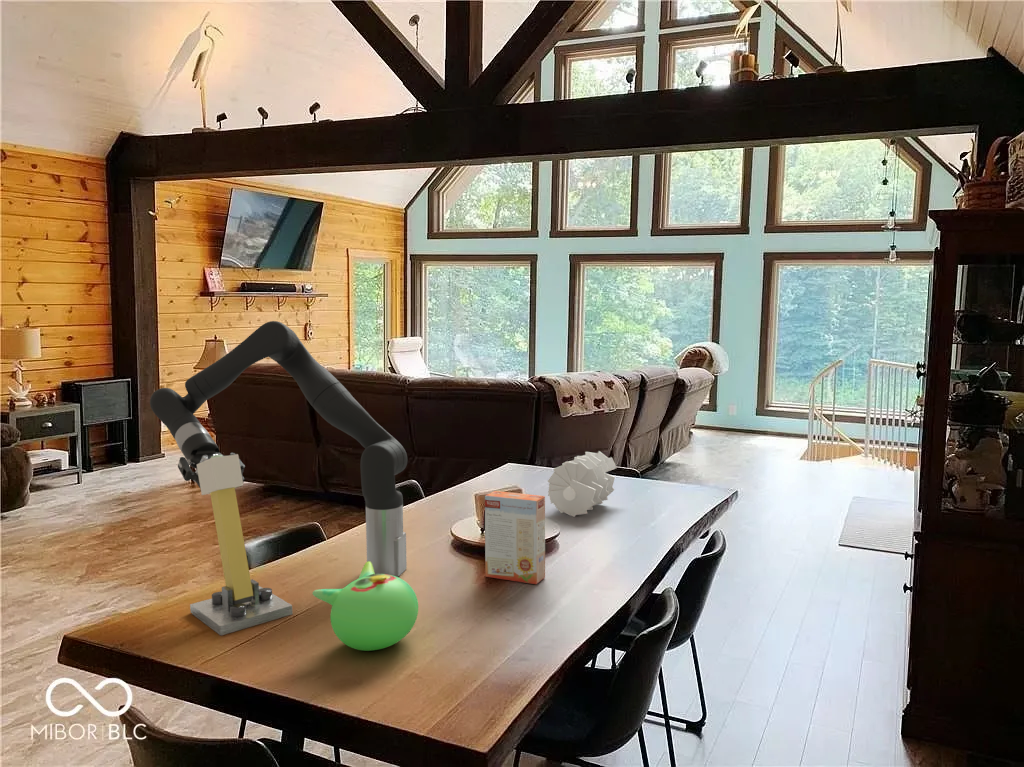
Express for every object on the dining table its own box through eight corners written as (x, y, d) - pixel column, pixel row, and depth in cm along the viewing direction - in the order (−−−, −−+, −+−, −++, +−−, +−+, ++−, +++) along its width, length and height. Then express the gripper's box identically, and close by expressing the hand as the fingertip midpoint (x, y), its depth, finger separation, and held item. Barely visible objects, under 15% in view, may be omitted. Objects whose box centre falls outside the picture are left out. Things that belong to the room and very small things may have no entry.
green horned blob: (375, 672, 144) (373, 596, 143) (310, 651, 153) (307, 578, 152) (434, 637, 160) (433, 567, 158) (372, 619, 168) (371, 553, 167)
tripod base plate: (190, 612, 172) (189, 584, 171) (259, 594, 183) (258, 567, 182) (220, 635, 160) (219, 605, 160) (292, 614, 171) (291, 585, 170)
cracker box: (546, 577, 193) (546, 495, 191) (536, 585, 188) (536, 500, 186) (495, 569, 199) (494, 489, 197) (484, 577, 194) (484, 494, 191)
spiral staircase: (556, 529, 248) (583, 506, 270) (604, 511, 240) (628, 489, 262) (532, 476, 248) (562, 458, 271) (579, 457, 240) (605, 440, 263)
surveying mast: (220, 607, 172) (195, 461, 176) (246, 600, 176) (222, 457, 180) (236, 606, 166) (210, 454, 170) (263, 599, 170) (237, 450, 174)
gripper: (171, 433, 184) (198, 476, 175) (227, 430, 194) (256, 470, 185) (163, 459, 187) (190, 502, 178) (220, 454, 197) (248, 494, 188)
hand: (224, 485), depth 182 cm, fingers open, 8 cm apart
